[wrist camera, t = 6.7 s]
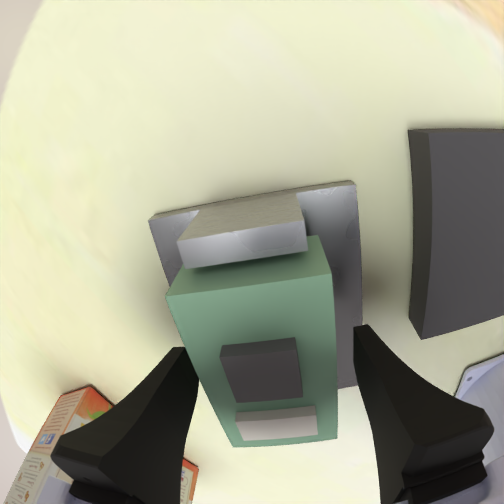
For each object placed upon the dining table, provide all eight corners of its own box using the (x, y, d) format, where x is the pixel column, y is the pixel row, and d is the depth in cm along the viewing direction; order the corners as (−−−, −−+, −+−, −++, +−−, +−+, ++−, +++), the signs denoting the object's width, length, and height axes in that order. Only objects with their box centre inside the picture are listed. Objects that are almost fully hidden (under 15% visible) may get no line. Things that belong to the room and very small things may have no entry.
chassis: (357, 375, 17) (370, 430, 13) (217, 391, 19) (207, 445, 15) (350, 180, 13) (383, 208, 9) (154, 215, 14) (112, 253, 10)
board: (330, 392, 15) (338, 448, 11) (238, 402, 15) (231, 457, 12) (317, 234, 11) (335, 284, 8) (188, 255, 12) (158, 307, 9)
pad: (499, 293, 14) (515, 310, 13) (408, 317, 15) (420, 340, 14) (513, 129, 10) (537, 134, 9) (407, 129, 11) (428, 132, 10)
